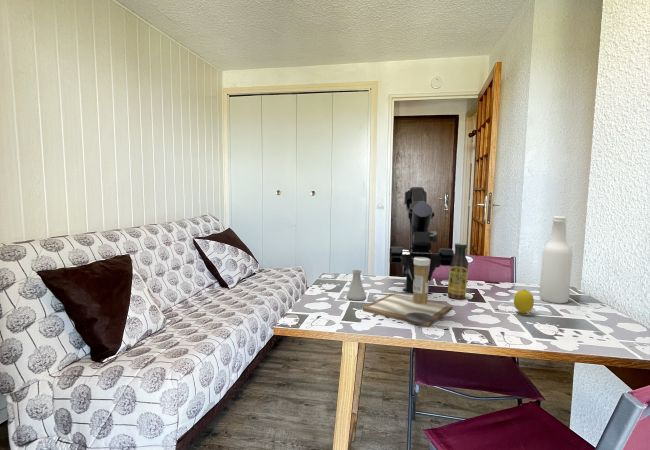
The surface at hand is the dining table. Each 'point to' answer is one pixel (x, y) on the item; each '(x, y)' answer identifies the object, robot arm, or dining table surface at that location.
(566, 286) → the alcohol
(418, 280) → the sprinkles bottle
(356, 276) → the flask
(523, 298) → the lemon
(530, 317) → the dining table surface
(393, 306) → the beige tray
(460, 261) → the sauce bottle
